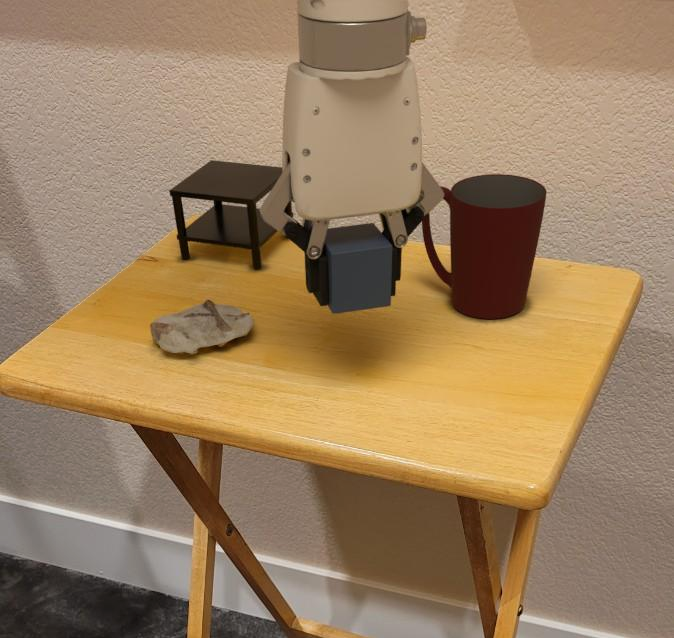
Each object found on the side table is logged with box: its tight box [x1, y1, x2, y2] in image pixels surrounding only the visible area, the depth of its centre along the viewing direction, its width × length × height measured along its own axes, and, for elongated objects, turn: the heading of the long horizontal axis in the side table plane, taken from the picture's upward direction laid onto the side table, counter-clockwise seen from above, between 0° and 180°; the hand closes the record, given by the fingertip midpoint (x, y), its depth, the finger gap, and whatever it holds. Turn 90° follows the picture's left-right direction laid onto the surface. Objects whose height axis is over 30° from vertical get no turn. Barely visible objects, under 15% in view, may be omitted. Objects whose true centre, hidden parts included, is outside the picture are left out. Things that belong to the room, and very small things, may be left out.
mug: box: [421, 173, 547, 320], centre depth 87 cm, size 12×9×11 cm
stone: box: [149, 298, 255, 355], centre depth 85 cm, size 10×7×3 cm
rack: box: [169, 160, 294, 271], centre depth 99 cm, size 10×10×8 cm
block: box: [323, 222, 392, 315], centre depth 72 cm, size 5×5×5 cm
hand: (353, 292), depth 73 cm, fingers closed on block, 5 cm apart
